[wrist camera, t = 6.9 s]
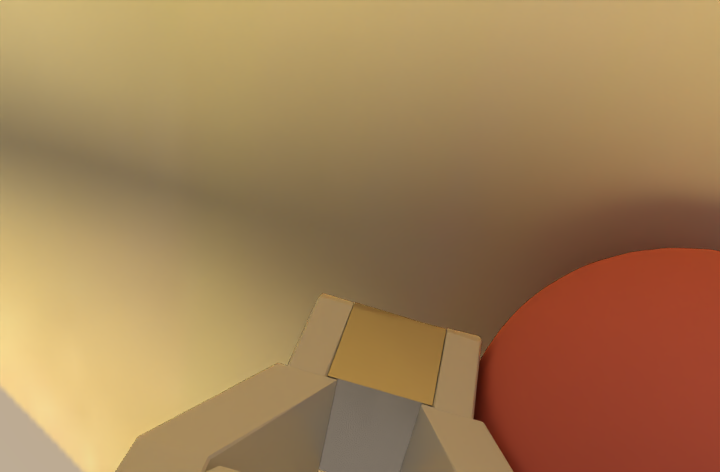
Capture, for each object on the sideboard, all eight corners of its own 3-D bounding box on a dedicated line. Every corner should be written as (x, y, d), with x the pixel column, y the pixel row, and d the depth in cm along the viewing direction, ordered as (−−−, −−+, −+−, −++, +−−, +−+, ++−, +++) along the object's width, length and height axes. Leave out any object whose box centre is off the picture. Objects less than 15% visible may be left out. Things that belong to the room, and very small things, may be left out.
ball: (751, 167, 11) (1230, 461, 7) (592, 416, 14) (859, 723, 10) (461, 160, 8) (993, 662, 4) (340, 475, 11) (570, 946, 7)
